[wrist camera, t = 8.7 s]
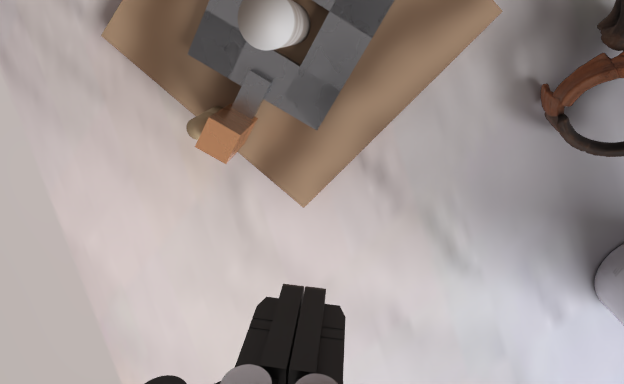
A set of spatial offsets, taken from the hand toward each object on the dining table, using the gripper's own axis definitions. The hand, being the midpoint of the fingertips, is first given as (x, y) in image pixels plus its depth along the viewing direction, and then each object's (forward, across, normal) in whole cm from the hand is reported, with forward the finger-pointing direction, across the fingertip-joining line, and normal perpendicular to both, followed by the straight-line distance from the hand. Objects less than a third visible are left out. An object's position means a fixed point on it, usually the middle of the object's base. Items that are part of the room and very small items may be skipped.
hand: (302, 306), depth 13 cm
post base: (+23, +4, -9) cm, 25 cm away
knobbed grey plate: (+21, +5, -7) cm, 23 cm away
